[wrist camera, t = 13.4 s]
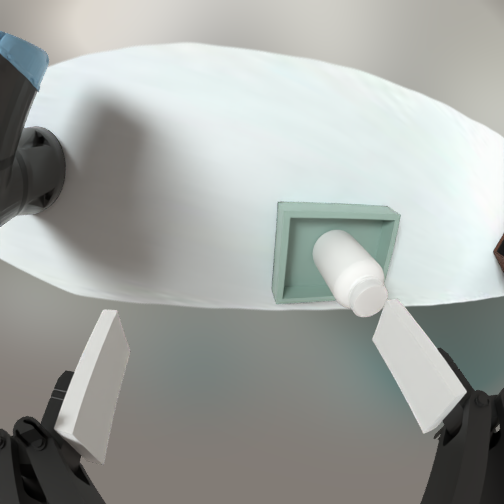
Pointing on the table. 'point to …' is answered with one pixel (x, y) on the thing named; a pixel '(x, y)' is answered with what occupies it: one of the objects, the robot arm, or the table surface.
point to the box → (310, 230)
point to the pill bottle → (350, 273)
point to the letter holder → (500, 252)
